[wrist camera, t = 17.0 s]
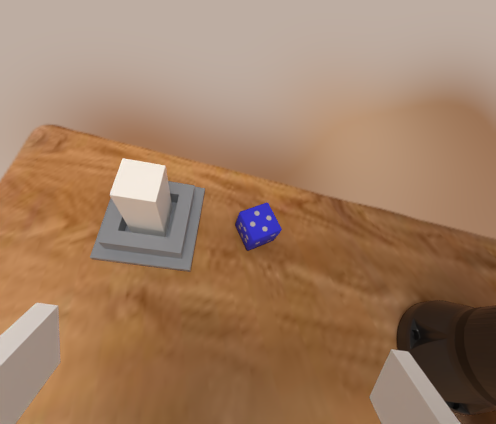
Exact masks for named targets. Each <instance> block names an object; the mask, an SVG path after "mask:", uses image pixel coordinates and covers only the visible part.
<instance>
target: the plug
mask: <svg viewBox="0 0 496 424" xmlns="http://www.w3.org/2000/svg"><path fill="white" fill-rule="evenodd" d="M110 196H111V198H112V200H113V202H114V203H115V205H116V207H117V208H118V210H119V212H120V214H121V215H122V217H123V219H124V220H125V222H126V224H127V225H128V227H129V229H130V231H131V232H132V233H139V234H146V235H153V236H161V237H166V234H167V229H168V225H169V221H170V217H171V212H172V202H171V196H170V190H169V184H168V178H167V172H166V166H164V165H158V164H153V163H147V162H141V161H135V160H129V159H124V158H123V159H122V161H121V164H120V167H119V170H118V173H117V175H116V178H115V181H114V184H113V187H112V190H111V192H110Z"/></svg>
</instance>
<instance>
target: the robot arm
mask: <svg viewBox="0 0 496 424" xmlns="http://www.w3.org/2000/svg"><path fill="white" fill-rule="evenodd" d="M397 343H398V350H393V349H391V351H390V353H389V355H388V357H387V360H386V362H385V364H384V366H383V368H382V370H381V373H380V375H379V377H378V379H377V381H376V384H375V386H374V388H373V390H372V392H371V395H370V397H369V398H370V400H371V402H372V404H373V406H374V409H375V411H376V413H377V415H378V417H379V419H380V421H381V424H461V423H460V422H459V421H458V419H457V418H456V416H455V415H454V414H453V412H455V413H459V414H466V415H474V414H480V413H485V412H491V411H496V306H488V307H479V308H473V307H469V306H464V305H460V304H455V303H451V302H447V301H438V300H435V301H427V302H421V303H418V304H415V305H414V306H412V307H411V308H409V309H408V310H407V311H406V312H405V314H404V315H403V317H402V319H401V321H400V324H399V328H398V336H397ZM59 363H60V340H59V313H58V306H57V305H50V304H42V303H36V304H34V305H33V306H32V307H31V308H30V309H29V310H28V311H27V312H26V313H25V314H24V315H22V316H21V317H20V318H19V319H18V320H17V321H16V322H15V323H14V324H13V325H11V326H10V327H9V328H8V329H7V330H6V331H5V332H4V333H3V334H2V335H1V336H0V424H16V422H17V421H18V420H19V418H20V417H21V415H22V414H23V413H24V411H25V410H26V409H27V407H28V406H29V405H30V403H31V402H32V400H33V399H34V398H35V396H36V395H37V394H38V392H39V391H40V389H41V388H42V387H43V385H44V384H45V383H46V381H47V380H48V379H49V377H50V376H51V374H52V373H53V372H54V370H55V369H56V368H57V366H58V365H59Z"/></svg>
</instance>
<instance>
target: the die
mask: <svg viewBox="0 0 496 424" xmlns="http://www.w3.org/2000/svg"><path fill="white" fill-rule="evenodd" d="M235 226H236V228H237V230H238V232H239V234H240V236H241V239H242V241H243V243H244V245H245V247H246V249H247V250H248V251H249V250H251V249H254V248H256V247H258V246H261V245H263V244H266V243H268V242H271V241H273V240H274V239H275V238H276V236H277V235H278V234H279V233H280V231H281V230H282V229H281V227H280V225H279V223H278V221H277V219H276V217H275V215H274V213H273V212H272V210H271V208H270V206H269V204H268V203H264V204H261V205H259V206H256V207H253V208H250V209H247V210H244V211H241V212H240V213H239V216H238V218H237V221H236V224H235Z"/></svg>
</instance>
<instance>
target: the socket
mask: <svg viewBox="0 0 496 424" xmlns="http://www.w3.org/2000/svg"><path fill="white" fill-rule="evenodd" d="M168 184H169V190H170V196H171V202H172V212H171V217H170V221H169V225H168V229H167V234H166V237H161V236H153V235H146V234H139V233H132V232H131V231H130V229H129V227H128V225H127V224H126V222H125V220H124V219H123V217H122V215H121V214H120V212H119V210H118V208H117V207H116V205H115V203H114V202H113V200H112V198H111V199H110V202H109V205H108V207H107V210H106V213H105V216H104V219H103V222H102V225H101V227H100V230H99V233H98V236H97V239H96V242H95V244H94V247H93V250H92V253H91V256H90V258H91V259H95V260H102V261H110V262H118V263H126V264H134V265H141V266H149V267H157V268H165V269H173V270H180V271H188V272H190V269H191V264H192V258H193V253H194V247H195V242H196V237H197V231H198V226H199V220H200V215H201V209H202V204H203V198H204V193H205V188H199V187H195V186H194V185H188V184H182V183H176V182H170V181H168Z"/></svg>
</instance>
